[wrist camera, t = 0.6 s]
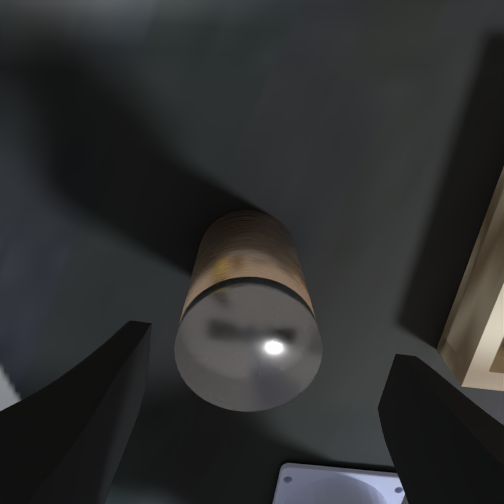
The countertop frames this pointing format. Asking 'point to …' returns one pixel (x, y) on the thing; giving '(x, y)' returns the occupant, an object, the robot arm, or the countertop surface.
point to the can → (247, 317)
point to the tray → (480, 308)
